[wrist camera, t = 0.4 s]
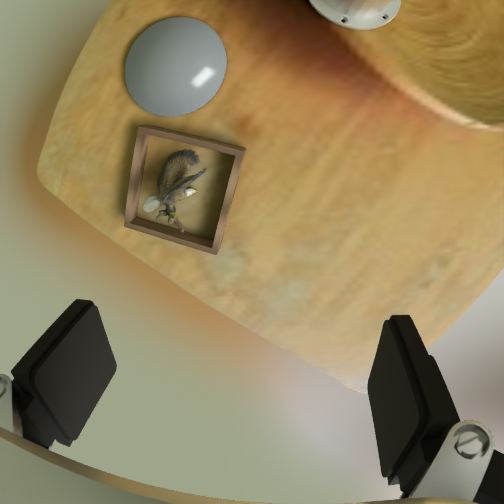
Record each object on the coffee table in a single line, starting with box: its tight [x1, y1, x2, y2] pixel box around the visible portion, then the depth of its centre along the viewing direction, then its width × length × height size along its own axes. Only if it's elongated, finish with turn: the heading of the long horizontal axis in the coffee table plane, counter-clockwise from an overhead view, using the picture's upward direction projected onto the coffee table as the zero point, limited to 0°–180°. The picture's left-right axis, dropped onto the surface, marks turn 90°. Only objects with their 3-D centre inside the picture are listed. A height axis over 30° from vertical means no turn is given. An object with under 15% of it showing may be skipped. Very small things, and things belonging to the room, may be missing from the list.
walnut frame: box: [124, 125, 246, 255], centre depth 42 cm, size 15×14×2 cm
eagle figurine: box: [143, 150, 206, 233], centre depth 40 cm, size 8×7×9 cm
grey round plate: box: [125, 17, 228, 117], centre depth 35 cm, size 14×14×1 cm
